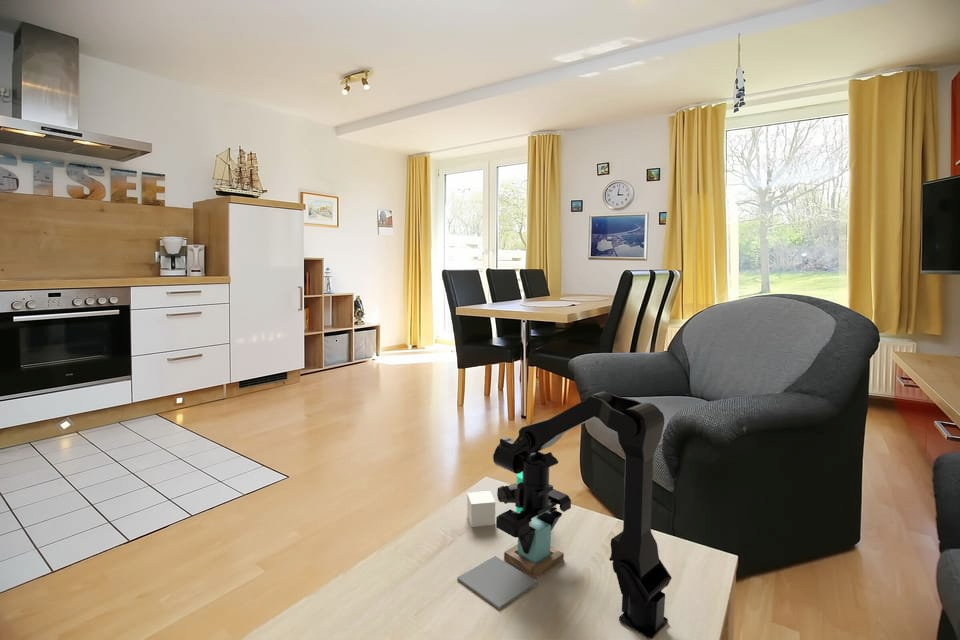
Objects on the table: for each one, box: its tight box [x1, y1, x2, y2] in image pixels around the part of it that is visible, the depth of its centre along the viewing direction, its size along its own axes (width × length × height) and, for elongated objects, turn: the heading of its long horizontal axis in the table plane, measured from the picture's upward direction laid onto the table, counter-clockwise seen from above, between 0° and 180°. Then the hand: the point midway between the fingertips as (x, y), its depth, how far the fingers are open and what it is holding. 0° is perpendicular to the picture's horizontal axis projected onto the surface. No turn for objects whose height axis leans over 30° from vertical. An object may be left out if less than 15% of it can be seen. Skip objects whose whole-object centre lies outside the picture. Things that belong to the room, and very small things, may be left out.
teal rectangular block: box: [517, 517, 552, 565], centre depth 109 cm, size 5×5×8 cm
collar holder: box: [503, 543, 565, 578], centre depth 110 cm, size 9×9×2 cm
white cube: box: [466, 490, 496, 528], centre depth 126 cm, size 6×6×6 cm
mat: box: [457, 555, 538, 610], centre depth 102 cm, size 12×11×1 cm
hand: (534, 548), depth 109 cm, fingers closed on teal rectangular block, 5 cm apart
